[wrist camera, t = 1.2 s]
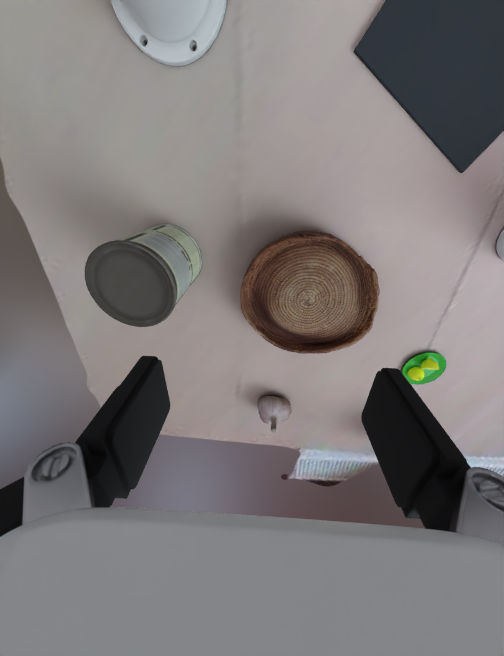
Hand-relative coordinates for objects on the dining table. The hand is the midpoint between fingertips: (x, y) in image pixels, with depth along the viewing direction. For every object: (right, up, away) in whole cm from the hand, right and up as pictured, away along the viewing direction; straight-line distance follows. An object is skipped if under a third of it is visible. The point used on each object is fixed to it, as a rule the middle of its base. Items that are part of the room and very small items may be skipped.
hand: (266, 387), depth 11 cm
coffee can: (-14, +14, +29) cm, 35 cm away
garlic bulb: (+4, -14, +45) cm, 47 cm away
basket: (+9, +9, +31) cm, 34 cm away
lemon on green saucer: (+33, -5, +38) cm, 51 cm away
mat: (+24, +34, +16) cm, 44 cm away
